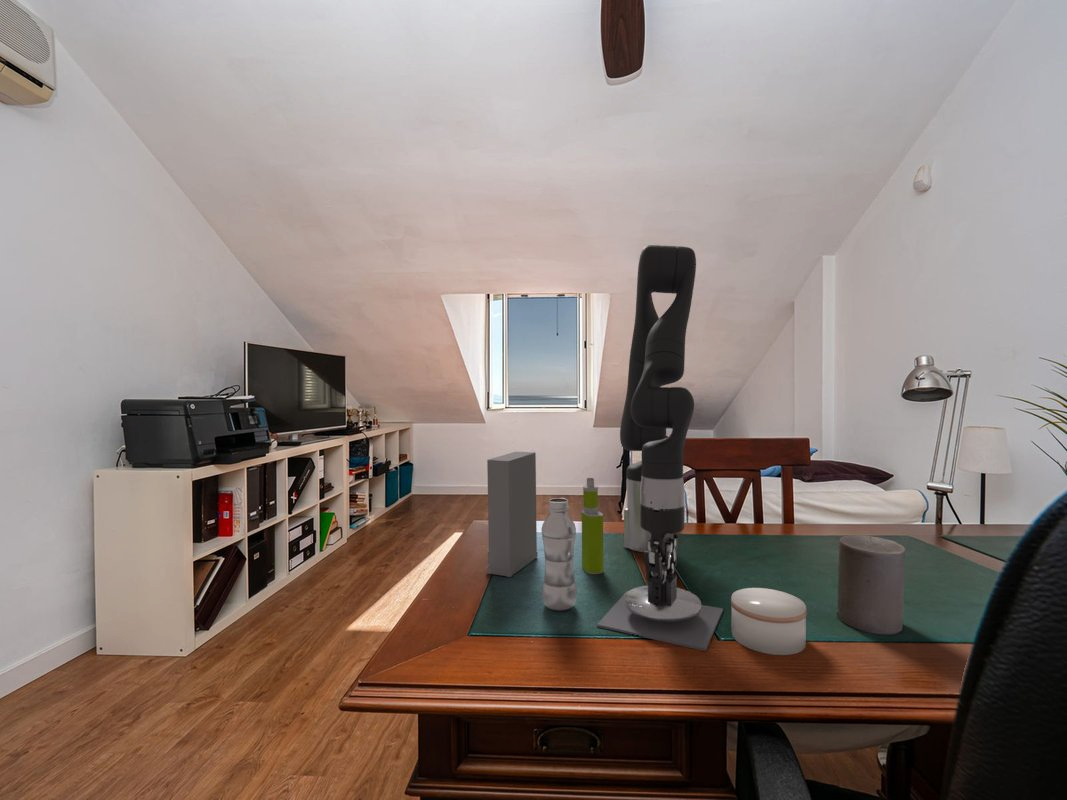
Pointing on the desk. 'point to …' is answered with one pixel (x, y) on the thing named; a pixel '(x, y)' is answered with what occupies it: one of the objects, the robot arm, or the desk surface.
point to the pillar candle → (871, 584)
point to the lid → (675, 608)
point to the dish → (768, 621)
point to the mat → (665, 626)
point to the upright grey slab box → (511, 512)
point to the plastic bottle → (559, 557)
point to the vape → (592, 530)
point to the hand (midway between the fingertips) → (662, 598)
